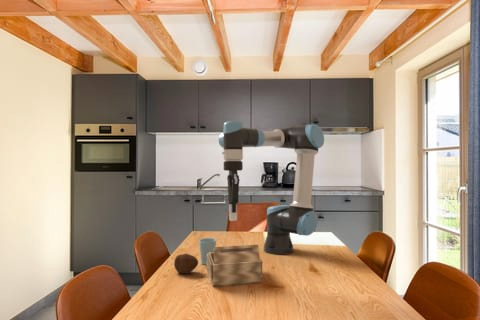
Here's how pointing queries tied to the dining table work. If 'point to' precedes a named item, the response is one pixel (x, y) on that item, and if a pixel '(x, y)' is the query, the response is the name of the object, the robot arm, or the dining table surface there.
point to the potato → (185, 263)
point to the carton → (233, 272)
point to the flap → (236, 254)
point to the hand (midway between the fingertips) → (233, 220)
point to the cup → (206, 248)
